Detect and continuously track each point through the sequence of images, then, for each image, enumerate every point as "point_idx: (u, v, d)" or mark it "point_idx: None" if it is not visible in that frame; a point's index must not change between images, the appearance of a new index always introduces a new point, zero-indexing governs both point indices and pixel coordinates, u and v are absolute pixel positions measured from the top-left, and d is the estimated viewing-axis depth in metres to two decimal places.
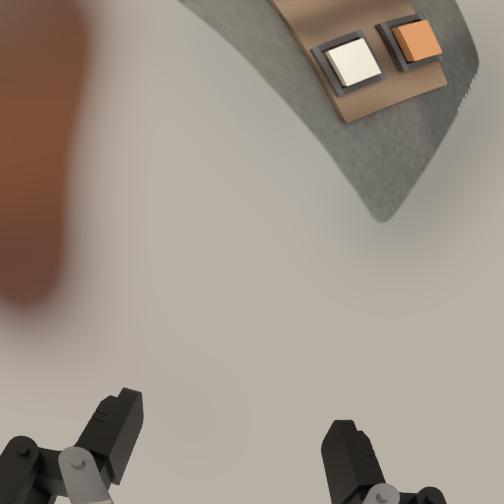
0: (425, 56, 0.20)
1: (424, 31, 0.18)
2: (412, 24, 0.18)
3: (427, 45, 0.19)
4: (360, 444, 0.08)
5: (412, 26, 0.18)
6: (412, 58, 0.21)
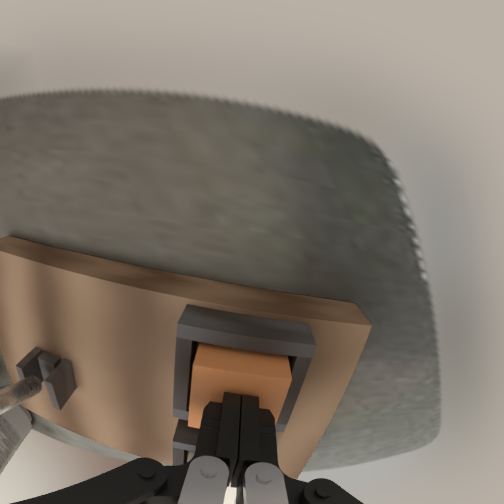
0: (275, 418, 0.11)
1: (219, 390, 0.11)
2: (192, 401, 0.11)
3: None
4: (257, 420, 0.09)
5: (196, 403, 0.11)
6: None
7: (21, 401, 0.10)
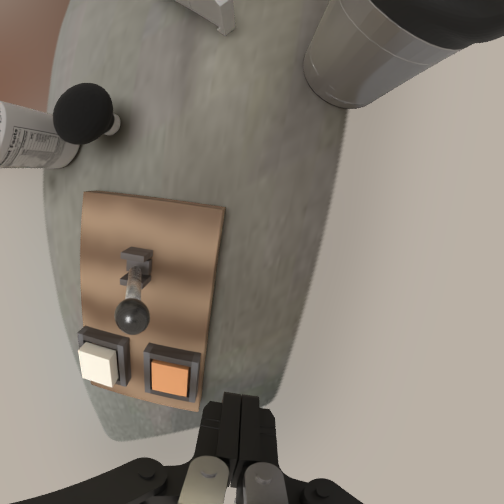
0: (165, 391, 0.29)
1: (177, 376, 0.28)
2: (168, 367, 0.28)
3: (173, 386, 0.29)
4: (257, 420, 0.09)
5: (167, 368, 0.28)
6: (152, 386, 0.29)
7: None
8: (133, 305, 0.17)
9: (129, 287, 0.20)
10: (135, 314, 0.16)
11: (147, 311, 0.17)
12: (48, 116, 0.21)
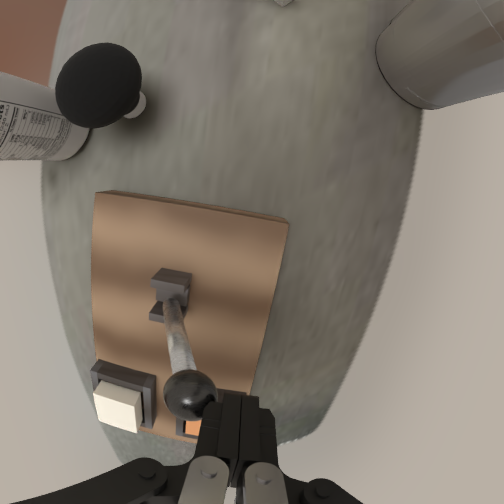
0: None
1: None
2: None
3: None
4: (257, 420, 0.09)
5: None
6: None
7: None
8: (196, 386, 0.11)
9: (173, 340, 0.14)
10: (200, 399, 0.10)
11: (215, 389, 0.11)
12: (49, 90, 0.14)
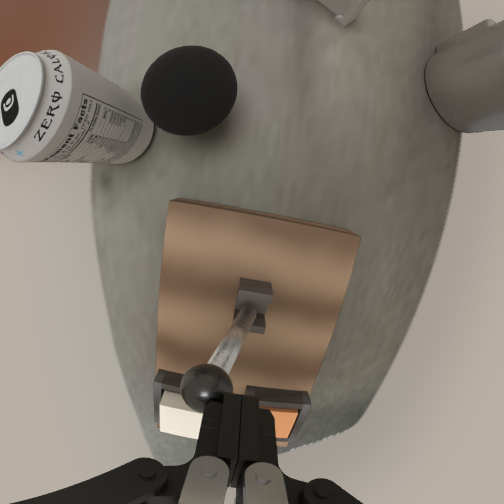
0: None
1: (283, 420, 0.24)
2: (275, 412, 0.23)
3: None
4: (257, 420, 0.09)
5: (274, 413, 0.23)
6: None
7: None
8: (207, 378, 0.11)
9: (224, 340, 0.15)
10: (206, 392, 0.11)
11: (227, 390, 0.11)
12: (120, 88, 0.16)
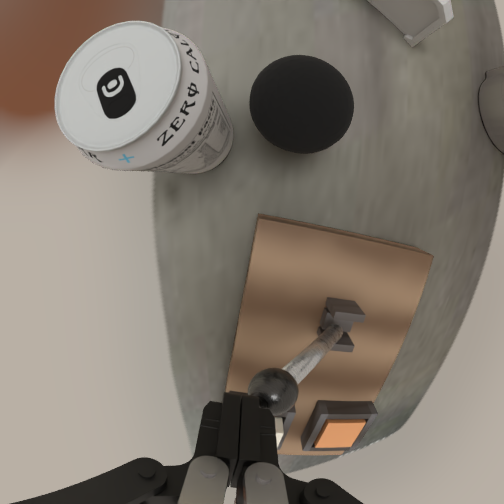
0: (329, 446, 0.23)
1: (351, 431, 0.23)
2: (346, 424, 0.23)
3: (341, 440, 0.23)
4: (257, 420, 0.09)
5: (344, 425, 0.23)
6: (315, 444, 0.24)
7: None
8: (274, 381, 0.12)
9: (304, 351, 0.16)
10: (269, 393, 0.11)
11: (291, 395, 0.12)
12: None
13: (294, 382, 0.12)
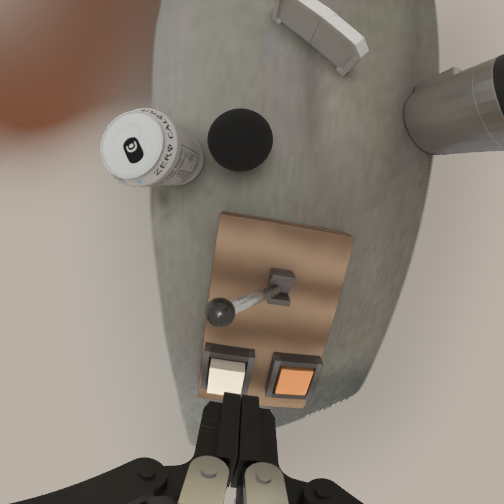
0: (287, 393, 0.33)
1: (302, 378, 0.33)
2: (296, 371, 0.33)
3: (296, 388, 0.33)
4: (257, 420, 0.09)
5: (295, 372, 0.33)
6: (275, 390, 0.34)
7: None
8: (218, 302, 0.22)
9: (244, 295, 0.26)
10: (215, 309, 0.22)
11: (228, 311, 0.22)
12: (187, 133, 0.25)
13: (231, 304, 0.22)
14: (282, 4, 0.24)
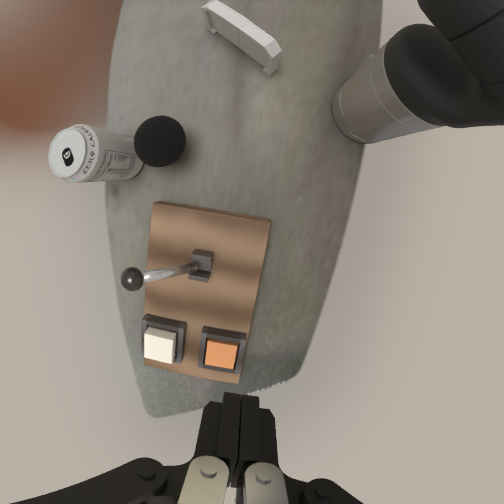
0: (215, 365, 0.38)
1: (227, 352, 0.37)
2: (221, 344, 0.37)
3: (223, 361, 0.38)
4: (257, 420, 0.09)
5: (220, 345, 0.37)
6: (205, 361, 0.38)
7: None
8: (128, 270, 0.26)
9: (159, 268, 0.30)
10: (126, 275, 0.26)
11: (135, 277, 0.26)
12: (122, 138, 0.30)
13: (139, 273, 0.27)
14: (210, 16, 0.28)
